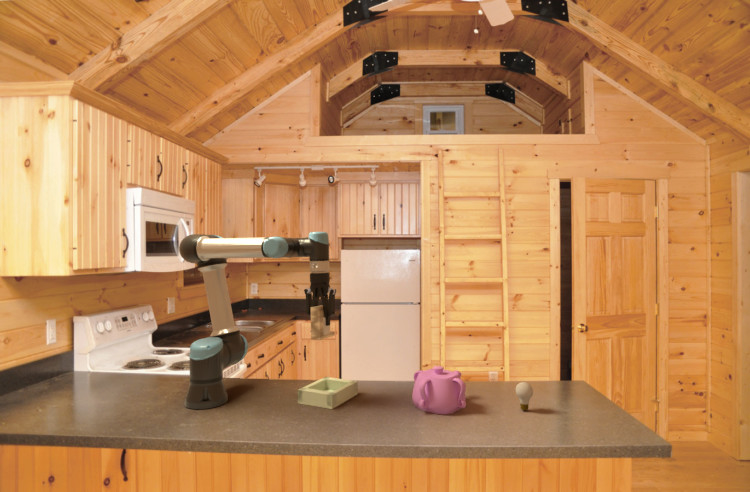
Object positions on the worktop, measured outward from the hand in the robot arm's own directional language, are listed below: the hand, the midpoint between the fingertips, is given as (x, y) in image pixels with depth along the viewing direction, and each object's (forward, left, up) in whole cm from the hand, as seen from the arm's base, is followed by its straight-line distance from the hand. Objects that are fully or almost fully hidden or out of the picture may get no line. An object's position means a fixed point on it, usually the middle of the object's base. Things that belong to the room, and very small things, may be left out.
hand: (320, 333), depth 169 cm
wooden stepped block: (0, +1, -2) cm, 2 cm away
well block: (+1, +3, -25) cm, 26 cm away
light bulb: (+71, +22, -26) cm, 78 cm away
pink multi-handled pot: (+43, +15, -26) cm, 52 cm away
